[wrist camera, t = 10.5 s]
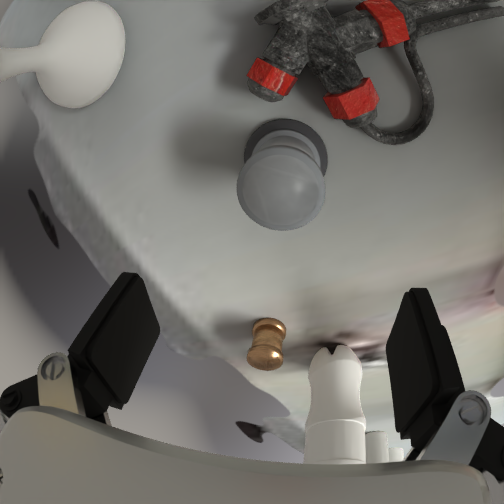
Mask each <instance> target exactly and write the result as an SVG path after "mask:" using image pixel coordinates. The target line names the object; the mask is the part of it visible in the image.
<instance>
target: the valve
mask: <svg viewBox="0 0 504 504" xmlns="http://www.w3.org/2000/svg"><path fill="white" fill-rule="evenodd" d="M326 1H328V0H280V1H278V2H276V3H275V4H273V5H271V6H269V7H268V8H266V9H265V10H263V11H262V12H260V13H259V14H258V15H256V16H255V20H256V21H257V22H258V24H259V25H262V24H271V25H276V24H279V25H280V28H279V29H278V31H277V32H276V34H275V36H274V37H273V39H272V40H271V42H270V44H269V45H268V47H267V48H266V50H265V52H264V53H263V56H264V58H263V59H260V58H257V59H256V60H255V62H254V64H253V65H252V67H251V69H250V71H249V72H248V74H247V76H248V77H249V80H248V82H247V84H248V87H249V90H250V91H251V92H252V93H253V94H255V95H256V96H258V97H260V98H262V99H264V100H266V101H269V102H276V101H280V100H282V99H283V97H284V96H286V95H288V94H289V92H290V90H291V89H292V87H293V86H294V84H295V82H296V81H297V79H298V78H297V77H295V76H294V75H295V74H298V75H299V74H300V73H301V71H302V70H303V68H304V66H305V65H306V63H307V64H308V66H309V68H310V69H311V71H312V73H313V74H314V75H318V77H319V79H320V80H321V82H322V84H323V86H324V87H325V89H326V90H327V91H328V92H327V93H326V95H325V96H324V97H323V99H324V101H325V103H326V105H327V106H328V108H329V110H330V112H331V114H332V116H333V118H334V119H342V120H343V121H344V122H345V123H346V125H347V126H349V127H352V128H357V127H361V128H362V129H363V130H364V131H365V132H366V133H367V134H368V135H369V136H370V137H372V138H373V139H375V140H377V141H379V142H382V143H384V144H391V145H397V144H404V143H407V142H410V141H412V140H414V139H415V138H417V137H418V136H419V135H420V134H421V133H423V132H424V130H425V129H426V127H427V126H428V124H429V122H430V120H431V117H432V114H433V108H434V98H433V93H432V89H431V86H430V83H429V81H428V78H427V76H426V73H425V70H424V68H423V66H422V63H421V61H420V58H419V56H418V54H417V51H416V42H417V40H418V38H419V37H421V36H424V35H427V34H430V33H433V32H437V31H440V30H443V29H447V28H451V27H454V26H458V25H462V24H466V23H470V22H475V21H479V20H484V19H488V18H493V17H499V16H504V8H503V7H502V6H498V7H492V8H486V9H481V10H475V11H470V12H466V13H461V14H457V15H453V16H449V17H445V18H441V19H437V20H433V21H430V22H426V23H423V24H420V25H416V21H415V19H418V18H421V17H425V16H428V15H432V14H436V13H440V12H444V11H448V10H453V9H457V8H462V7H467V6H472V5H478V4H483V3H490V2H497V1H500V0H426V1H422V2H418V3H414V4H410V5H406V4H405V3H404V2H403V1H402V0H366V1H363V2H362V3H360V4H359V5H357V6H356V7H355V8H356V9H354V10H352V11H349V12H347V13H344V14H342V15H339V16H337V17H334V18H332V17H331V15H330V13H329V12H328V10H327V8H326V7H325V6H326V5H327V4H326V3H325V2H326ZM403 41H404V49H405V52H406V56H407V58H408V60H409V62H410V65H411V67H412V69H413V72H414V74H415V77H416V79H417V82H418V84H419V87H420V89H421V93H422V96H423V109H422V113H421V115H420V118H419V119H418V121H417V122H416V124H415V125H413V126H412V127H411V128H410V129H408V130H406V131H404V132H401V133H387V132H384V131H381V130H379V129H378V128H376V127H375V126H374V125H373V124H372V123H371V122H372V121H374V120H375V118H376V117H377V110H376V105H377V103H378V101H379V97H378V95H377V92H376V90H375V88H374V86H373V84H372V82H371V80H370V78H364V77H363V75H362V73H361V71H360V69H359V67H358V65H357V63H356V61H355V60H354V59H355V58H356V57H355V54H358V53H360V52H363V51H366V50H368V49H371V48H374V47H376V46H377V45H378V46H379V48H382V47H390V46H392V45H395V44H398V43H401V42H403Z"/></svg>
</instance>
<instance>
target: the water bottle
mask: <svg viewBox="0 0 504 504" xmlns="http://www.w3.org/2000/svg"><path fill="white" fill-rule="evenodd" d="M308 379H309V382H310V387H311V406H310V411H309V415H308V418H307V421H306V424H305V433H306V439H305V451H304V463H303V464H366V450H365V429H366V419H365V417H364V414H363V412H362V409H361V404H360V384H361V379H362V366H361V362H360V360H359V359H358V357H357V356H356V355H355V353H354V352H353V351H352V350H351V349H350V348H349V347H348V346H345V345H337V347H336V350H335V352H334V354H333V355H331V353H330V352H329V350H328V349H327V348H326V347H324V348H322V349H320V350H319V351H318V352H317V353H316V354H315V356H314V357H313V359H312V362H311V364H310V368H309V373H308Z"/></svg>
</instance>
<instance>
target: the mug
mask: <svg viewBox="0 0 504 504" xmlns="http://www.w3.org/2000/svg"><path fill="white" fill-rule="evenodd" d="M365 450H366V464H370V463H386V462H389V450H388V440H387V433H386V432H383V431H375V432H370V433H366V434H365Z"/></svg>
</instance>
